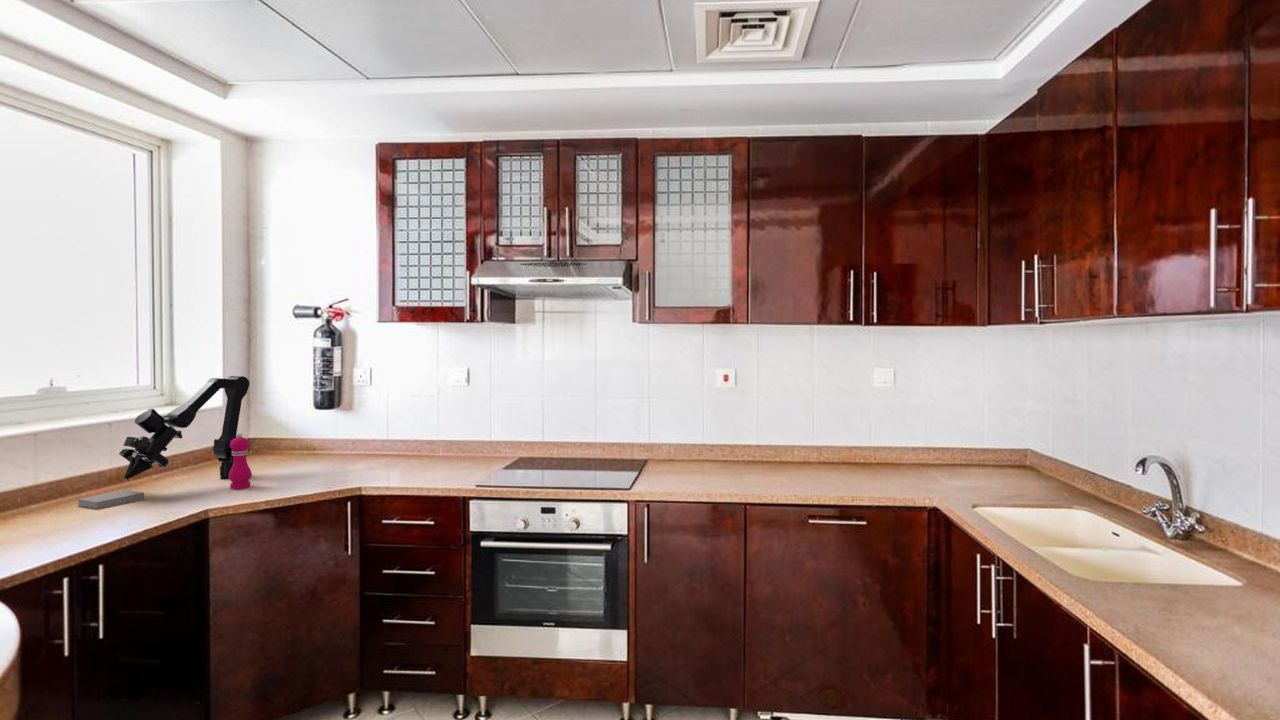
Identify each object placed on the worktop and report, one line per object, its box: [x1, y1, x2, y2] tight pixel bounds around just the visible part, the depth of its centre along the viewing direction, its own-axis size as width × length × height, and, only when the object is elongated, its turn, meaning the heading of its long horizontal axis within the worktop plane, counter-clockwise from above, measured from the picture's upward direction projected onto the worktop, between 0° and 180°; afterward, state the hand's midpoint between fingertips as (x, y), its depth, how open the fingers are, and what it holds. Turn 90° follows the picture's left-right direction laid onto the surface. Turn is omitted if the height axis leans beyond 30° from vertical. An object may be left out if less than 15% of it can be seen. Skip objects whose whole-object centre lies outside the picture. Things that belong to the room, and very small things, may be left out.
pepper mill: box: [229, 432, 253, 490], centre depth 240 cm, size 7×7×20 cm
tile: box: [77, 489, 145, 510], centre depth 219 cm, size 3×10×14 cm
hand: (125, 478), depth 223 cm, fingers closed
